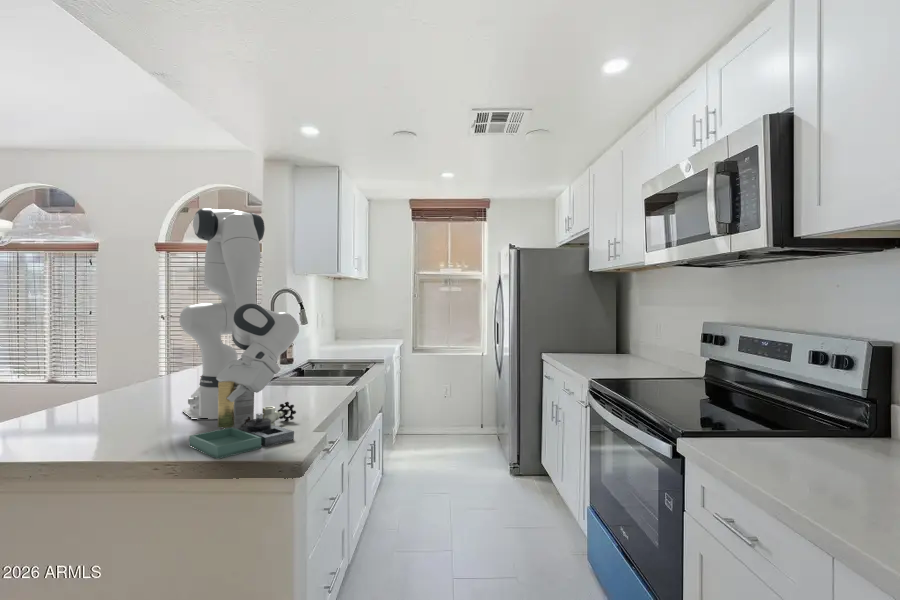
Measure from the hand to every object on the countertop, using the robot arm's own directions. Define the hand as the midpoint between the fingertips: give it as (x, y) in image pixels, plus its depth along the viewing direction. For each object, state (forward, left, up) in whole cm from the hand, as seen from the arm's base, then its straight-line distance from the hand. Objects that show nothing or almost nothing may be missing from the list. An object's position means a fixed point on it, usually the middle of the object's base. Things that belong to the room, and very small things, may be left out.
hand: (223, 399), depth 134 cm
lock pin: (0, +1, -7) cm, 7 cm away
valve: (-11, +23, -14) cm, 29 cm away
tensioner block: (0, +13, -13) cm, 18 cm away
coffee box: (-16, +13, -14) cm, 25 cm away
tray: (0, +1, -13) cm, 13 cm away
